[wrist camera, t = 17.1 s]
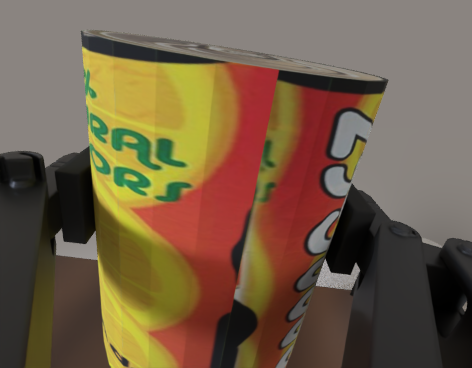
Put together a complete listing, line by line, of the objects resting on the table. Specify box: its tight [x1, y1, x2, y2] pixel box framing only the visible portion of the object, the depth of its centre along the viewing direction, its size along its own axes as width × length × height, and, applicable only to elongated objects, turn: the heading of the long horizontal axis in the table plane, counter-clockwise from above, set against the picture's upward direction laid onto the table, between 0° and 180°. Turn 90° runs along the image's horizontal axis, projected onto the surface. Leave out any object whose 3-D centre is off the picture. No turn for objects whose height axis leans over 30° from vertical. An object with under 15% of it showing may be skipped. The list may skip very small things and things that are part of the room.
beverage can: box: [81, 30, 388, 368], centre depth 12 cm, size 9×9×12 cm
